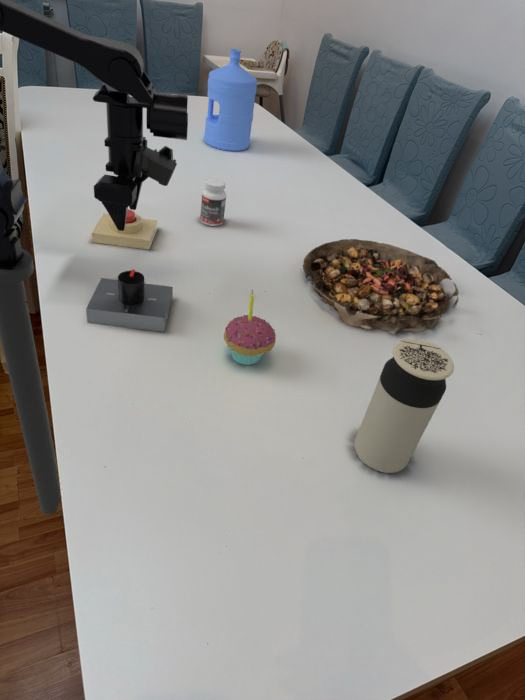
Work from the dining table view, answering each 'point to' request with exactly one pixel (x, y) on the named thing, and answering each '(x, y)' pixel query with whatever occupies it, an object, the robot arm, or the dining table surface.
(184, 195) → the dining table surface
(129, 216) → the button
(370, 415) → the travel mug
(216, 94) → the water jug
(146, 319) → the panel
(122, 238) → the housing
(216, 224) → the pill bottle
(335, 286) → the food dish
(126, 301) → the knob
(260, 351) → the cupcake
